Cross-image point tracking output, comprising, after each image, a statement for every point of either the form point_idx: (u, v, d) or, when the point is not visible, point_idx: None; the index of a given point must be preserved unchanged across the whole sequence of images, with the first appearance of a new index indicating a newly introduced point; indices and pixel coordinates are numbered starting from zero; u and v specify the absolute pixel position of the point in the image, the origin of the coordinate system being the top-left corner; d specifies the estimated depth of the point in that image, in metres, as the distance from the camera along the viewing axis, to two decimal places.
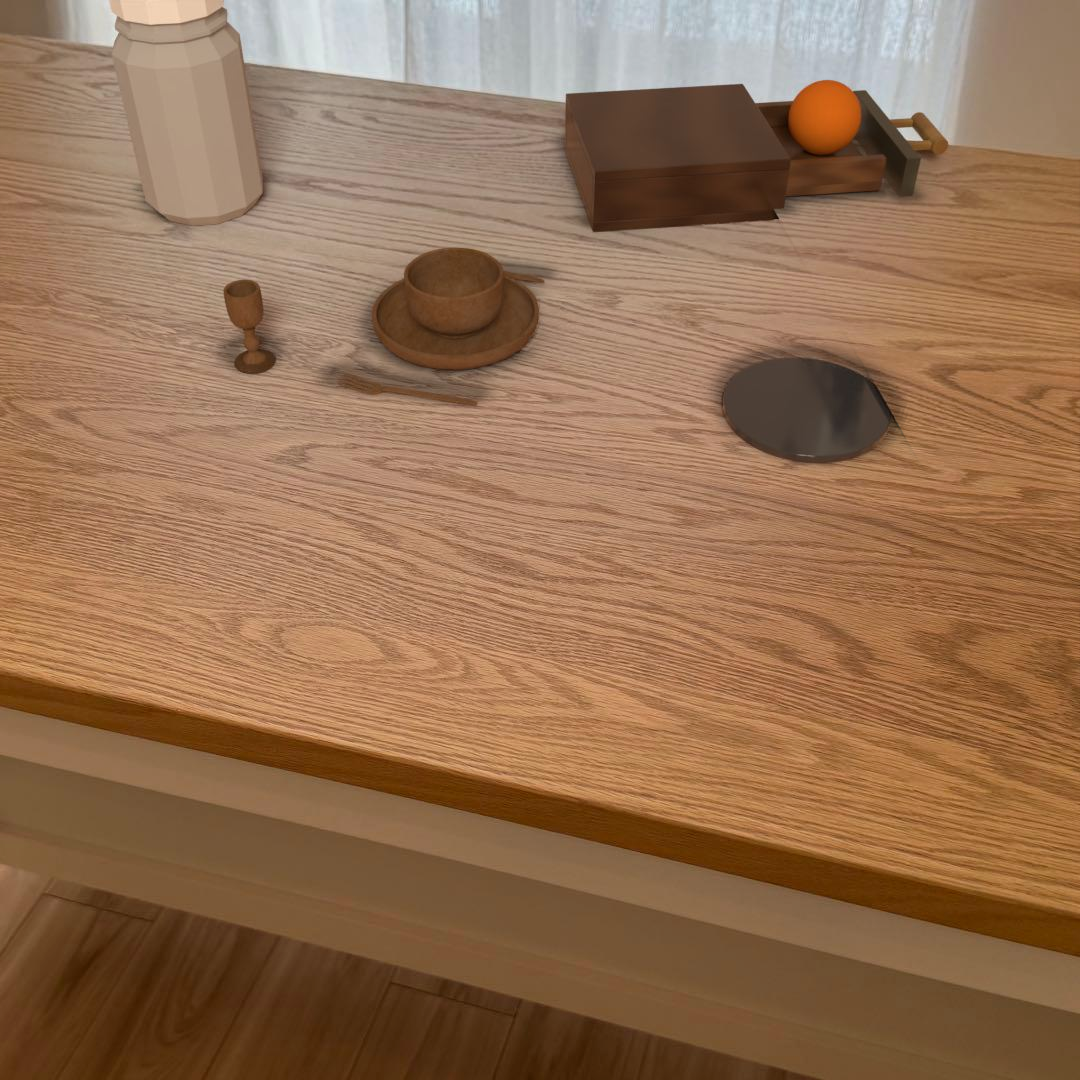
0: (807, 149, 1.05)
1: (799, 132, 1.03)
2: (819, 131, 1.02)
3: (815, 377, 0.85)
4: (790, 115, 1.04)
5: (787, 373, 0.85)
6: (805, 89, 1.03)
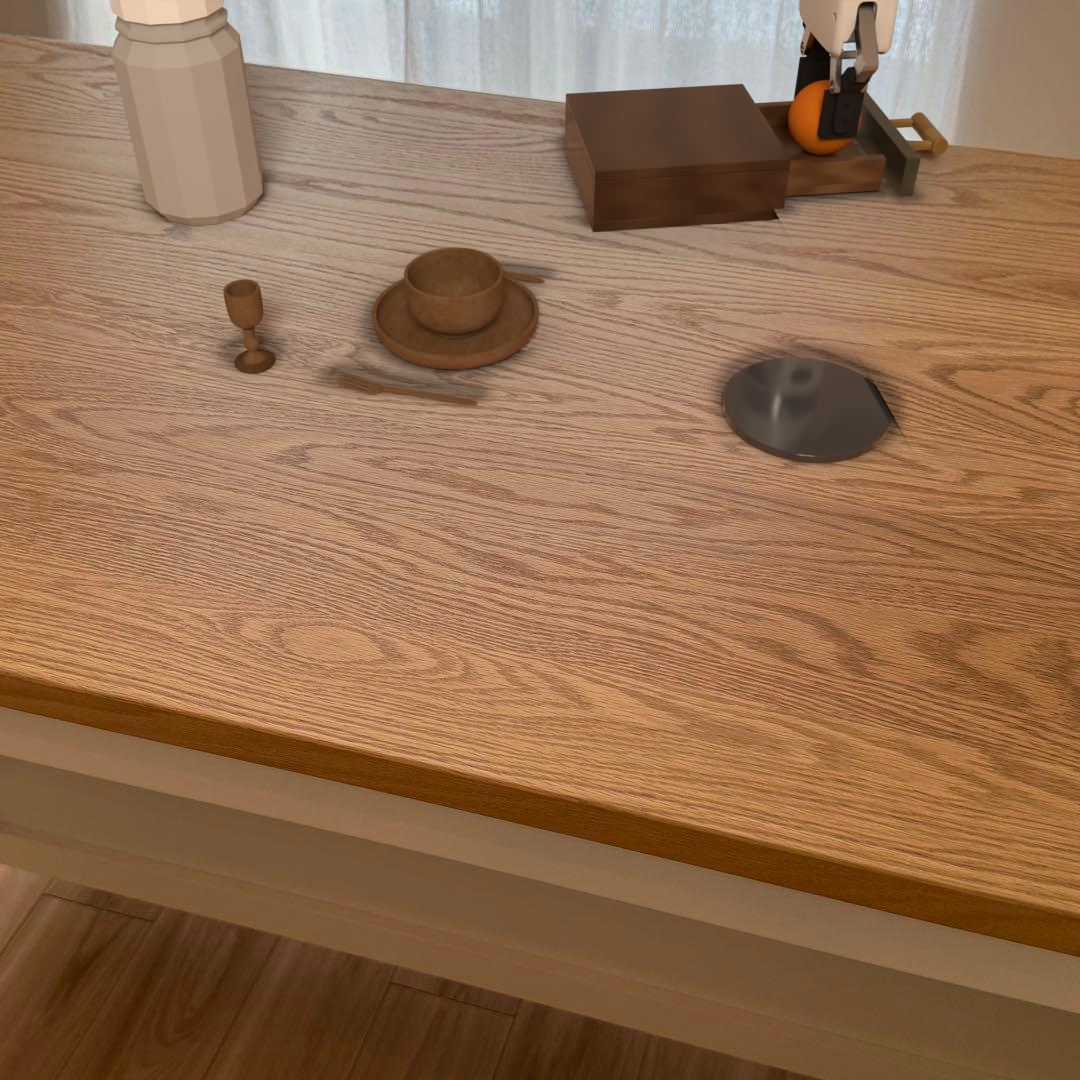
0: (807, 149, 1.05)
1: (799, 132, 1.03)
2: None
3: (815, 377, 0.85)
4: (790, 115, 1.04)
5: (787, 373, 0.85)
6: (805, 89, 1.03)
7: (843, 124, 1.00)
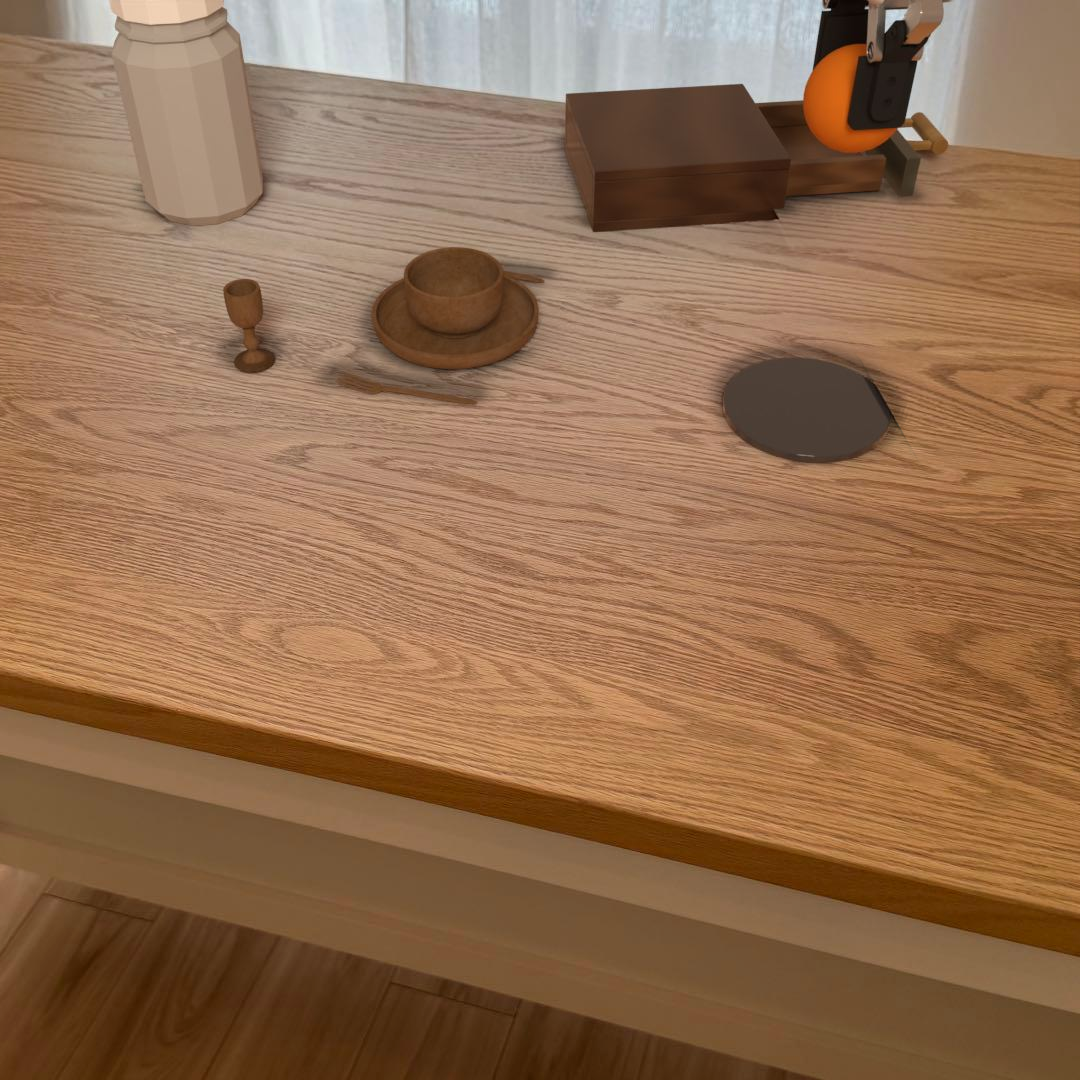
0: (830, 144, 0.72)
1: (819, 120, 0.71)
2: None
3: (815, 377, 0.85)
4: (806, 95, 0.72)
5: (787, 373, 0.85)
6: (828, 57, 0.71)
7: (885, 107, 0.68)
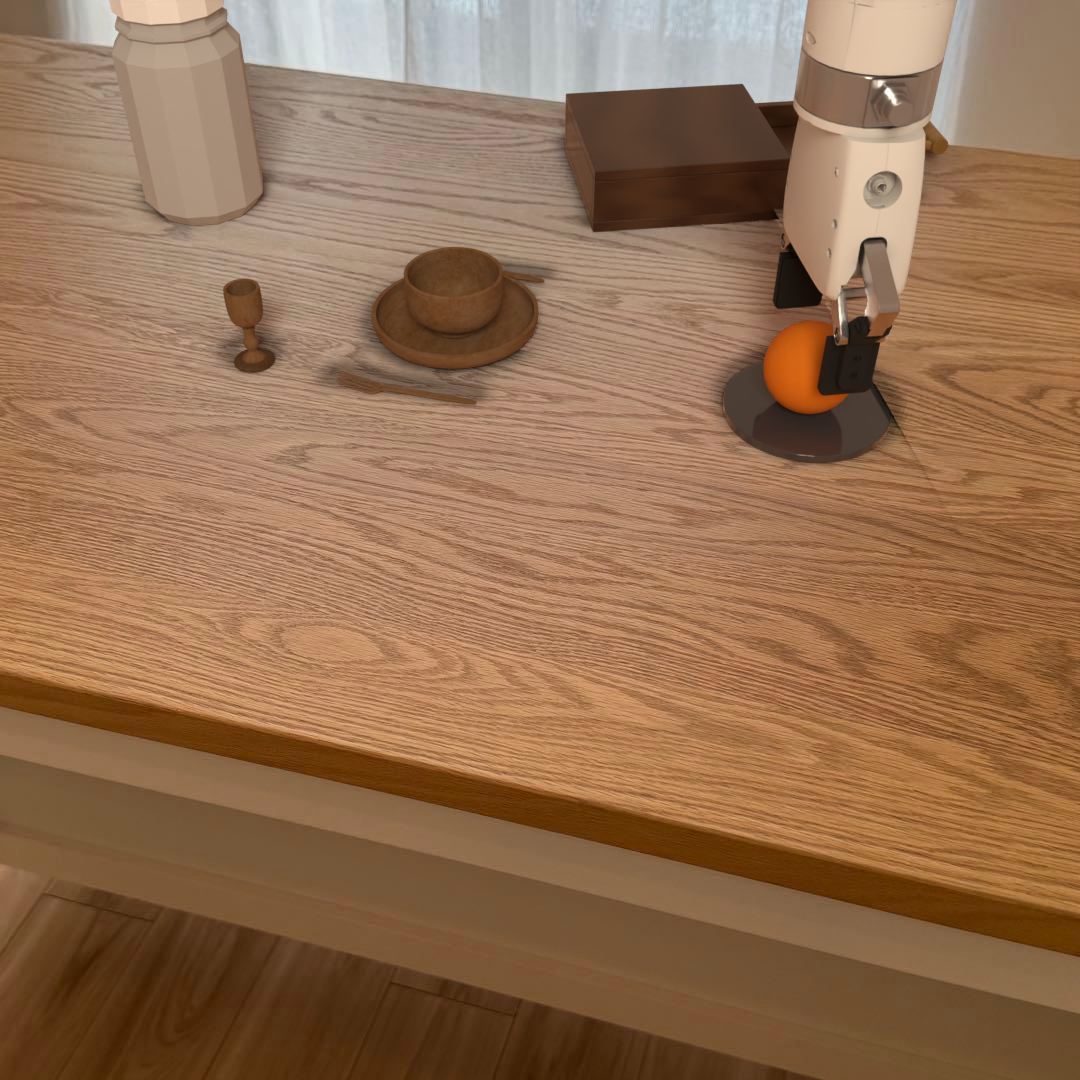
0: (788, 408, 0.80)
1: (777, 391, 0.79)
2: (803, 393, 0.78)
3: None
4: (765, 366, 0.80)
5: None
6: (784, 335, 0.79)
7: (852, 379, 0.74)
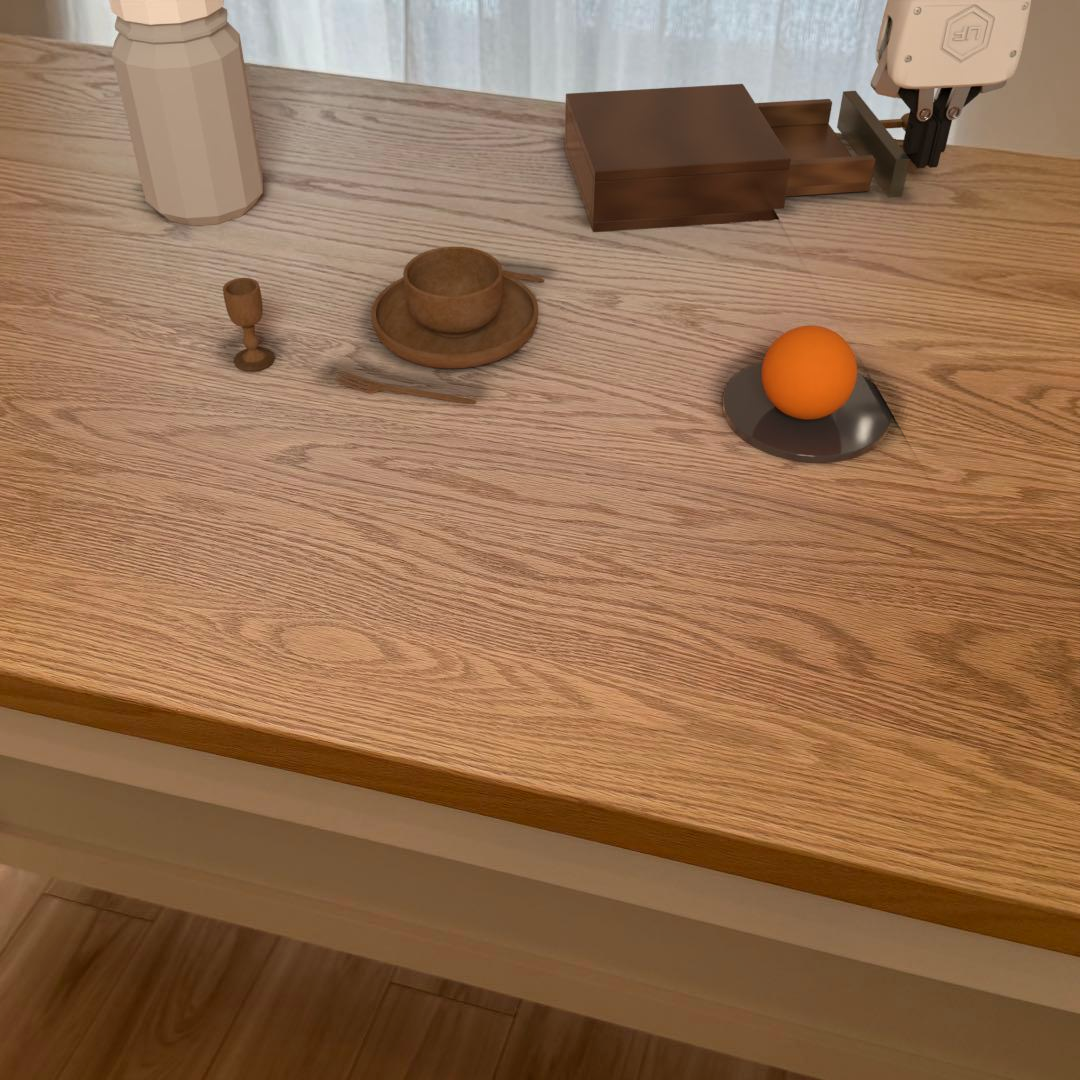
0: None
1: (775, 401, 0.79)
2: (800, 406, 0.78)
3: None
4: (763, 375, 0.80)
5: None
6: (781, 346, 0.78)
7: (907, 144, 1.01)
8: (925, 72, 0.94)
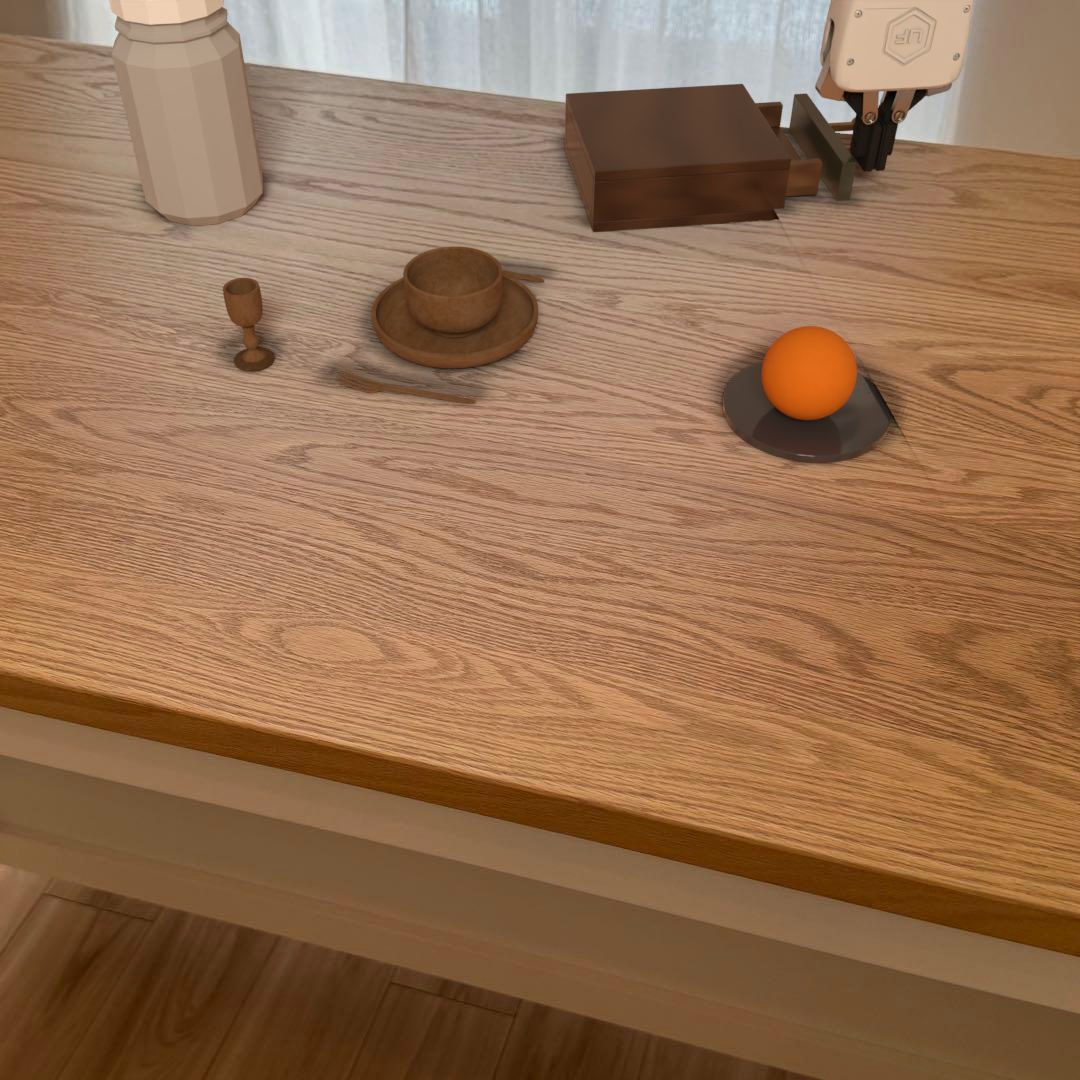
0: (787, 415, 0.81)
1: (775, 402, 0.79)
2: (800, 407, 0.78)
3: None
4: (763, 376, 0.80)
5: None
6: (781, 347, 0.78)
7: (854, 147, 1.00)
8: (868, 75, 0.93)
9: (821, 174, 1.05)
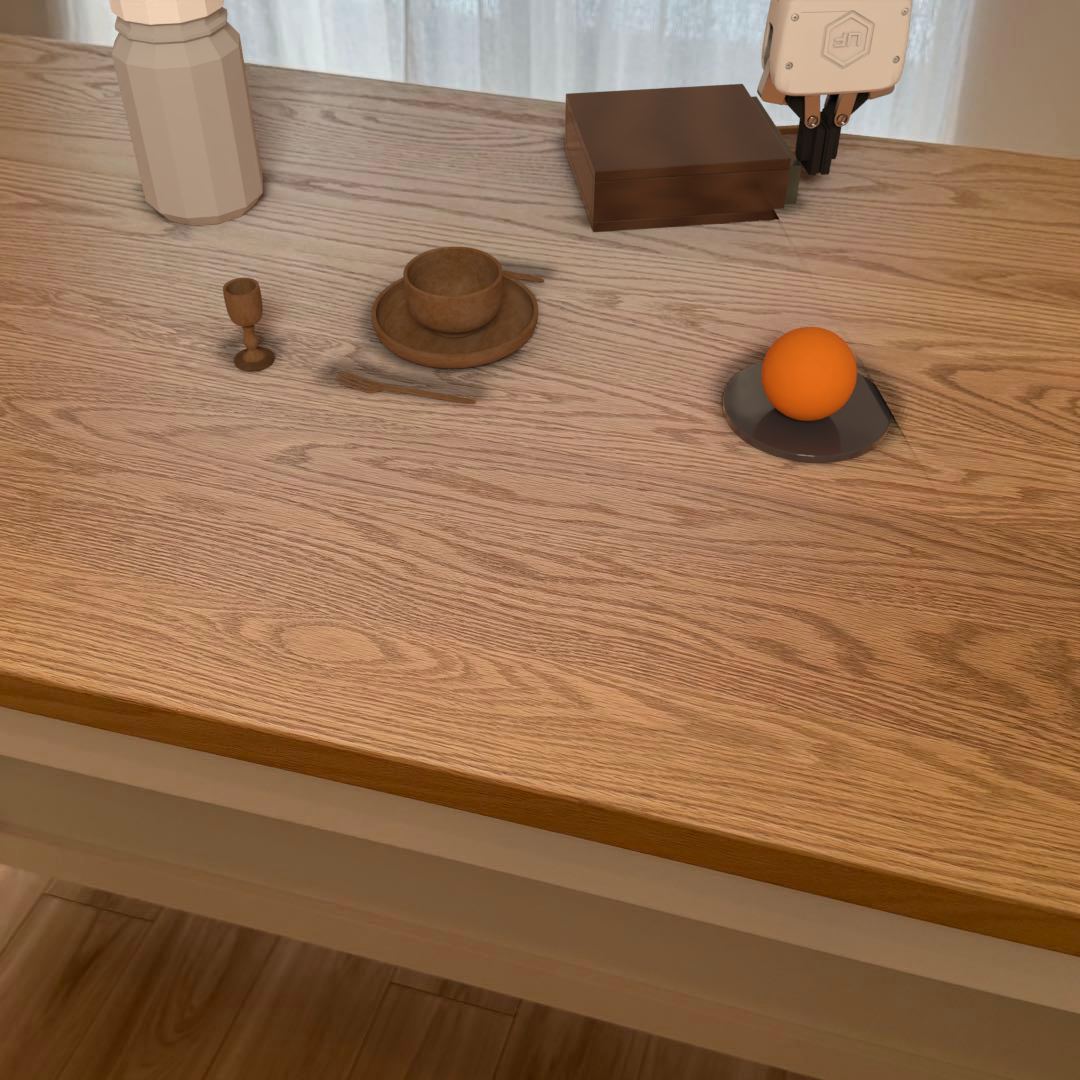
0: None
1: (775, 403, 0.79)
2: (799, 408, 0.78)
3: None
4: (763, 377, 0.80)
5: None
6: (780, 348, 0.78)
7: (799, 151, 1.00)
8: (807, 79, 0.93)
9: None
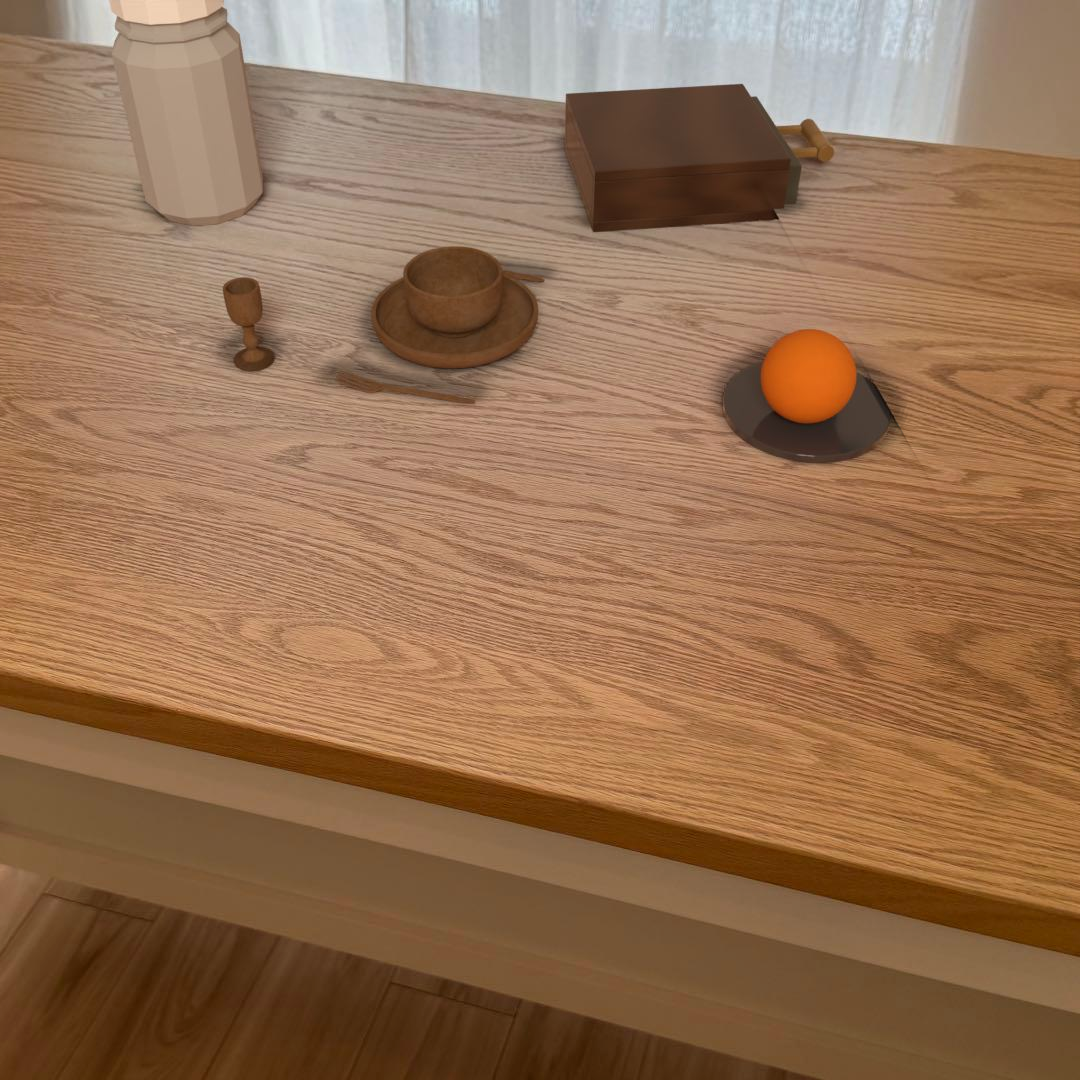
0: None
1: (774, 407, 0.79)
2: (798, 414, 0.78)
3: None
4: (762, 381, 0.79)
5: None
6: (779, 353, 0.78)
7: None
8: None
9: None
